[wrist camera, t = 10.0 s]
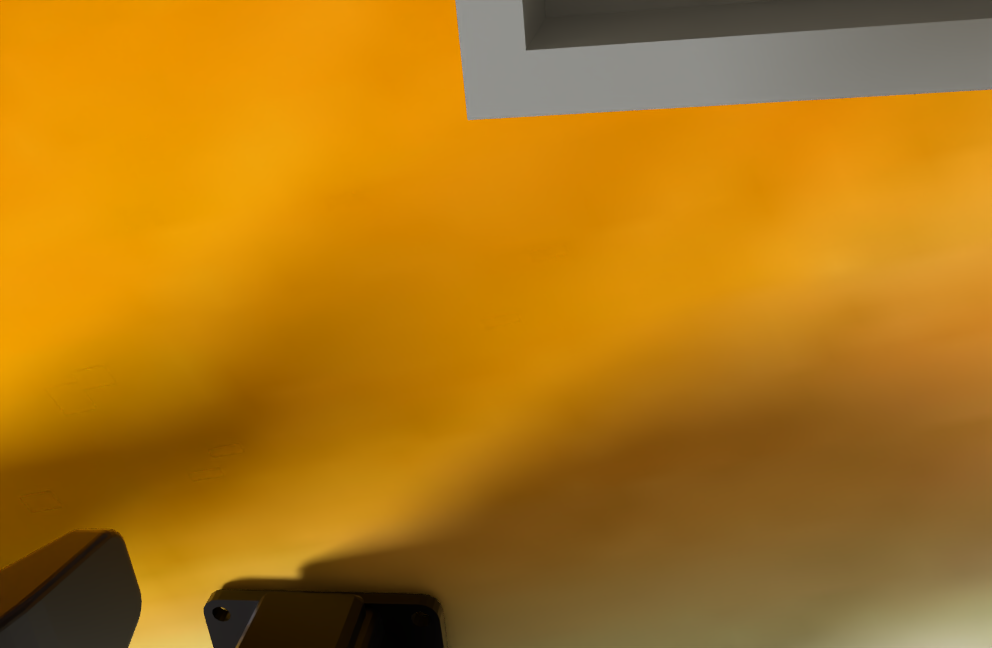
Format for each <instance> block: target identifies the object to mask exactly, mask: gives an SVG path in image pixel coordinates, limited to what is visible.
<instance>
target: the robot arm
mask: <svg viewBox="0 0 992 648" xmlns="http://www.w3.org/2000/svg"><path fill="white" fill-rule="evenodd" d="M141 603H142V601H141V593H140V589H139V585H138V582H137V579H136V576H135V573H134V570H133V566H132V563H131V560H130V557H129V554H128V551H127V548H126V544H125V542H124V539H123V537H122V536H121V535H120V534H119V533H118V532H117V531H115V530H113V529H77V530H73V531H71V532H69V533H67V534H65V535H64V536H62V537H60V538H58V539H56V540H55V541H53V542H51V543H49V544H47V545H46V546H44V547H42V548H40V549H38V550H37V551H35V552H33V553H31V554H29V555H27V556H26V557H24V558H22V559H20V560H18V561H17V562H15V563H13V564H11V565H9V566H8V567H6V568H4V569H2V570H0V648H128V646H129V644H130V641H131V639H132V636H133V633H134V631H135V628H136V626H137V623H138V620H139V617H140V612H141ZM221 607H223V608H225V609H227V610H228V611H226V610H223V609H222V608H221ZM417 612H423V613H426V614H427V615H428V616H422V615H419V614H418V613H417ZM204 616H205V619H206V623H207V626H208V630H209V633H210V637H211V640H212V644H213V647H214V648H448V643H447V636H446V629H445V622H444V615H443V609H442V606H441V604H440V603H439V601H438V600H437V599H436V598H434V597H432V596H430V595H426V594H407V593H361V592H315V591H270V590H224V589H223V590H217V591H215V592H214V593H212V595H211V596H210V598H209V600H208V601H207V603H206V605H205V607H204Z"/></svg>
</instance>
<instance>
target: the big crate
mask: <svg viewBox="0 0 992 648" xmlns="http://www.w3.org/2000/svg"><path fill="white" fill-rule="evenodd" d="M456 10H457V20H458V30H459V39H460V49H461V59H462V69H463V78H464V88H465V98H466V108H467V118H468V120H476V119H493V118H510V117H527V116H544V115H561V114H578V113H595V112H612V111H630V110H647V109H664V108H681V107H698V106H715V105H732V104H749V103H766V102H783V101H800V100H818V99H835V98H852V97H869V96H886V95H903V94H920V93H937V92H954V91H971V90H988V89H992V0H456Z"/></svg>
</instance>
